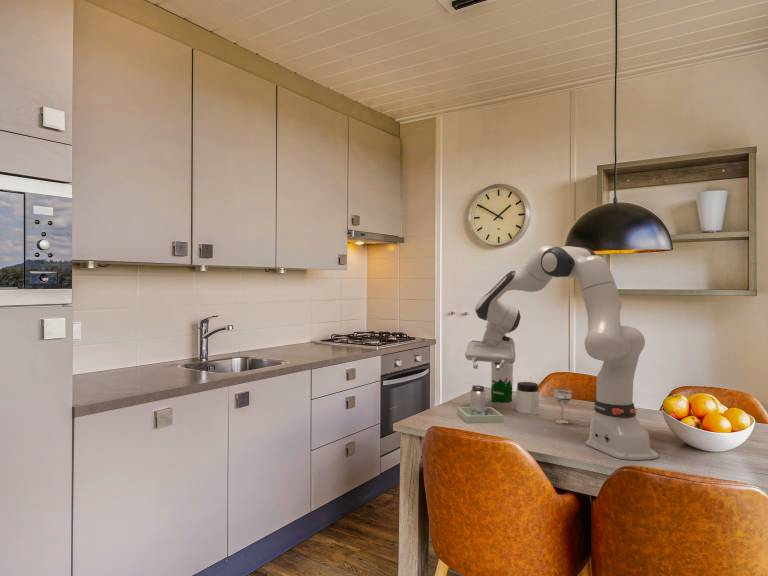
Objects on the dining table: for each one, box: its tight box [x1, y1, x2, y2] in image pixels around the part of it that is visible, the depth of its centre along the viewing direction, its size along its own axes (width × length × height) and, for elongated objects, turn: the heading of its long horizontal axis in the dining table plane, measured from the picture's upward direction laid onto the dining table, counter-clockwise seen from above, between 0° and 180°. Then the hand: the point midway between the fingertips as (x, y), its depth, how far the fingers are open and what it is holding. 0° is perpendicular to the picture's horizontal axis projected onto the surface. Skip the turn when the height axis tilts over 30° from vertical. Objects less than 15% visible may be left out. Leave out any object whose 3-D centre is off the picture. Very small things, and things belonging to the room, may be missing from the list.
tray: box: [456, 406, 505, 424], centre depth 200 cm, size 14×14×3 cm
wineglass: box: [552, 388, 573, 424], centre depth 199 cm, size 7×7×12 cm
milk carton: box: [490, 362, 514, 404], centre depth 232 cm, size 9×9×20 cm
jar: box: [515, 381, 540, 416], centre depth 212 cm, size 9×8×12 cm
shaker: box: [470, 385, 486, 416], centre depth 198 cm, size 5×5×12 cm
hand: (486, 368), depth 209 cm, fingers open, 8 cm apart
